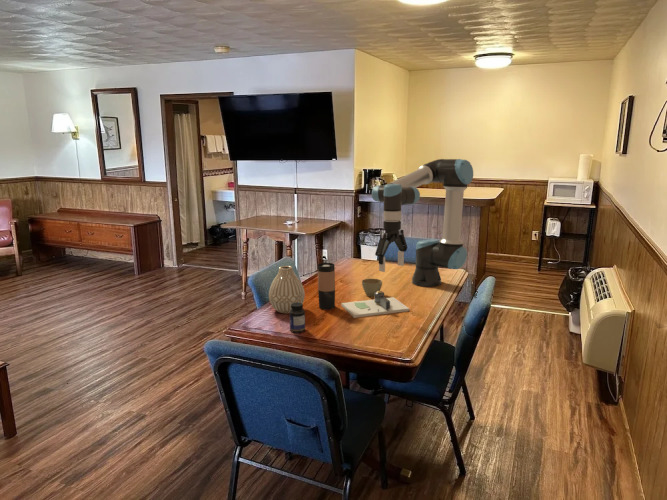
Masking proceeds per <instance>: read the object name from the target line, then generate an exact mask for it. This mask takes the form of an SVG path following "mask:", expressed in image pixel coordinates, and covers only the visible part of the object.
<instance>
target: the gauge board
mask: <svg viewBox="0 0 667 500" xmlns="http://www.w3.org/2000/svg"><path fill="white" fill-rule="evenodd" d="M385 298H386V299H388V300H389V301H390V309H385V308H384V307H383V306H382V305H380V304H378V303H375V302H374V299H366V300H359V301H358V300H356V301H349V302H342V303H341V307H342V308H343V309H345V311H346V312H348V314H349V315H350V316H351V317H352V318H354V319H355V318H364V317H372V316H381V315H388V314H395V313H397V314H398V313H402V312H405V313H406V312H409V311H410V307H408V306H406V305H405V304H404V303H403V302H401V301H400V300H398V299H397V298H396V297H394V296H391V297H385Z"/></svg>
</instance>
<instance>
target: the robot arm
mask: <svg viewBox="0 0 667 500" xmlns="http://www.w3.org/2000/svg"><path fill="white" fill-rule="evenodd" d="M473 179H474V168H473V166H472V163H471V162H470V161H469V160H467V159H461V158H454V159H453V158H452V159H451V158H449V159H448V158H439V159H436V160H432V161H429V162H428V163H424V164H422V165H421V166H419V167H418V168H417V169H416V170H414V171H412V172H410V173H408V174H406V175H404V176H402V177H399V178H398V179H395V180H393V181H391V182H389V183H387V184H384V185H375V186H374V187H373V188H372V190H371V198H372V199H373V201H374V202H376V203H383V224H382V225H383V230H384V231H385V233H383V232H381V233H380V234H379V240H378V243H377V247H376V250H375V254H374V256H376V257H378V272H383V273H385V272H386V256H385V255H386V253H387V250H388V248H389V246H390V245H391V244H392V243H394V244H395V245H396V247H397V249H398V251H397V266H401V267H404V265H405V261H404V260H405V259H404V258H405V252H407V249H408V245H407V242H406V237H405V234H404V232H405V231H404V230H403V229H402V222H401V220H402V206H409V205H413V204H416V203H418V202H419V201H420V197H421V193H420V191H419V189H418V187H420V186H423V185H428V184H432V183H443V184H442V187H443V189H445V196H444V197H445V200H444V213H443V228H442V238H441V239H440V240H439V239H437V238H436V239H433V238H432V239H423V240H419V241H417V243H416V246H415V247H416V248H415V269H414V272H413V275H412V278H411V283H412V284H413V285H415V286H418V287H426V288H427V287H429V288H430V287H439V286H440V285H441V284H442V277H441V274H440V271H439V270H440V269H439V267H440V268H445V269H446V268H447V269H450V270H459V269H460V268H462V267H463V266H464V265H465V263H466V261H467V258H468V251H467V248H466V247H465V246H464V242H463V241H462V239H461V236H462V235H461V233H462V221H463V206H464V193H465V191H466V189H468V185H470V184H471V183H472V182H473Z"/></svg>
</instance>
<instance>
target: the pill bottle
mask: <svg viewBox="0 0 667 500" xmlns="http://www.w3.org/2000/svg"><path fill="white" fill-rule="evenodd" d="M303 307H304V303H303V304H302V303H298V302H296V303H292V304H291V308H292V309H291V310H290V312H289V313H288V314H289V331H290V332H291V333H294V334H301V333H303V332H305V330H306V311H305V310H304V308H303Z"/></svg>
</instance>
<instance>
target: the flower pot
mask: <svg viewBox="0 0 667 500" xmlns="http://www.w3.org/2000/svg"><path fill="white" fill-rule="evenodd" d="M361 285H362V288H363V290H364V291H363V292H364V293H365V295H366V296H367V297H371V298H374V293H375V292H377V291H381V288H382V285H383V280H382V279H378V278H364V279H362V280H361Z"/></svg>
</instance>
